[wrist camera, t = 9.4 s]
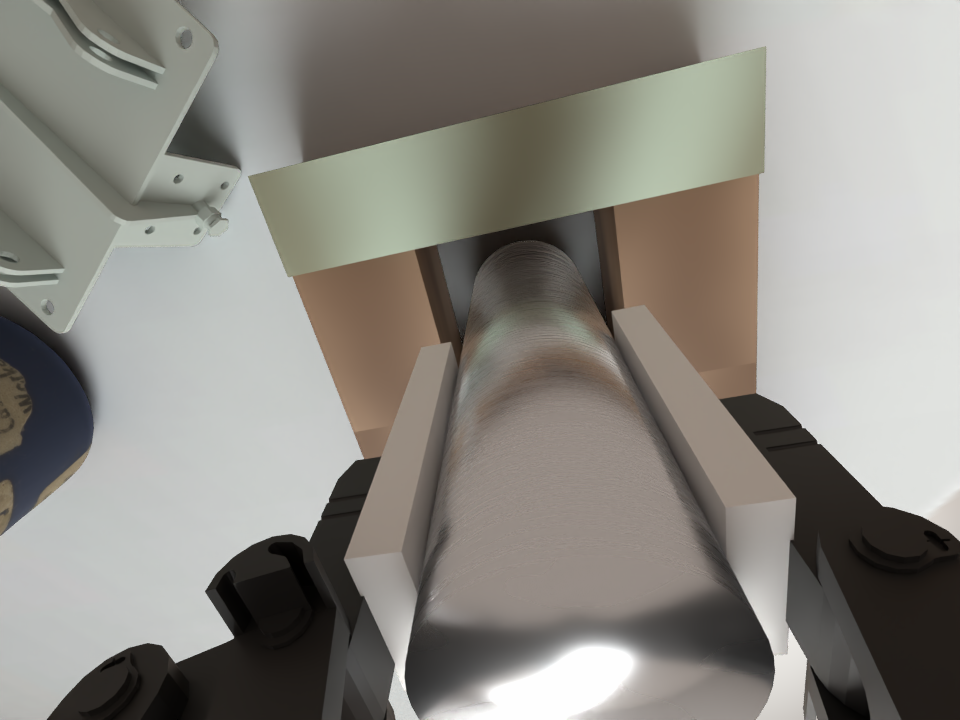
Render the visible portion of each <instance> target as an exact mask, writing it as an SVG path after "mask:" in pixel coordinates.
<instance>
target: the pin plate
mask: <svg viewBox="0 0 960 720" xmlns="http://www.w3.org/2000/svg"><path fill="white" fill-rule="evenodd" d="M765 86H766V46H765V47H761V48H757V49H753V50H749V51H745V52H741V53H737V54H733V55H729V56H725V57H721V58H717V59H713V60H709V61H705V62H702V63H698V64H694V65H690V66H686V67H682V68H678V69H674V70H670V71H666V72H662V73H658V74H654V75H650V76H646V77H642V78H638V79H634V80H630V81H626V82H622V83H618V84H614V85H610V86H606V87H602V88H598V89H594V90H590V91H586V92H582V93H578V94H574V95H570V96H566V97H562V98H558V99H554V100H550V101H546V102H542V103H538V104H534V105H530V106H526V107H522V108H518V109H514V110H510V111H506V112H502V113H498V114H494V115H491V116H487V117H483V118H479V119H475V120H471V121H467V122H463V123H459V124H455V125H451V126H447V127H443V128H439V129H435V130H431V131H427V132H423V133H419V134H415V135H411V136H407V137H403V138H399V139H395V140H391V141H387V142H383V143H379V144H375V145H371V146H367V147H363V148H359V149H355V150H351V151H347V152H343V153H339V154H335V155H331V156H327V157H323V158H319V159H315V160H311V161H307V162H303V163H299V164H295V165H291V166H287V167H283V168H280V169H276V170H272V171H268V172H264V173H260V174H256V175H252V176H248V178H249V180H250V183H251V185H252V188H253V190H254V193H255V195H256V198H257V200H258V203H259V205H260V208H261V210H262V213H263V215H264V218H265V220H266V223H267V225H268V228H269V230H270V233H271V235H272V238H273V241H274V243H275V246H276V248H277V251H278V253H279V256H280V258H281V261H282V263H283V266H284V268H285V271H286V273H287V276H288V277H292V276H293V279H294V281H295V284H296V286H297V289H298V292H299V294H300V297H301V299H302V302H303V304H304V307H305V309H306V312H307V314H308V317H309V320H310V322H311V325H312V327H313V330H314V332H315V335H316V337H317V340H318V342H319V345H320V347H321V350H322V353H323V355H324V358H325V360H326V363H327V365H328V368H329V370H330V373H331V375H332V378H333V381H334V383H335V386H336V388H337V391H338V393H339V396H340V398H341V401H342V403H343V406H344V409H345V411H346V414H347V416H348V419H349V421H350V424H351V426H352V429H353V431H354V434H355V436H356V439H357V442H358V444H359V447H360V449H361V452H362V454H363V457H364V459H369V458H375V457H381V456H382V454H383V451H384V448H385V446H386V443H387V440H388V437H389V435H390V432H391V429H392V426H393V424H394V421H395V418H396V415H397V413H398V410H399V407H400V405H401V402H402V399H403V396H404V394H405V391H406V388H407V385H408V383H409V380H410V377H411V374H412V372H413V369H414V366H415V363H416V361H417V358H418V355H419V353H420V350H421V348H422V347H427V346H432V345H437V344H442V343H448V342H451V343H452V347H453V351H454V354H455V358H456V362H457V365H458V369H459V364H460V358H461V353H462V347H463V345H462V342H461V338H460V334H459V330H458V326H457V322H456V319H455V315H454V311H453V307H452V303H451V299H450V296H449V292H448V288H447V284H446V280H445V276H444V273H443V269H442V265H441V261H440V257H439V253H438V250H437V246H436V245H437V244H442V243H446V242H451V241H455V240H460V239H465V238H469V237H474V236H478V235H483V234H487V233H492V232H496V231H501V230H506V229H510V228H515V227H519V226H524V225H528V224H533V223H537V222H542V221H546V220H551V219H556V218H560V217H565V216H569V215H574V214H578V213H583V212H587V211H592V210H593V211H594V219H595V227H596V235H597V243H598V251H599V259H600V267H601V275H602V283H603V291H604V300H605V308H606V316H607V324H608V329H609V331H610V333H611V335H612V337H613V339H614V341H615V337H614V329H613V320H612V312H611V311H614V310H620V309H625V308H630V307H635V306H640V305H645V306H646V307H647V309H648V310H649V311H650V312H651V314H652V315H653V316H654V318H655V319H656V320H657V321H658V323H659V324H660V325H661V326H662V328H663V329H664V330H665V332H666V333H667V334H668V335H669V337H670V338H671V339H672V340H673V342H674V343H675V344H676V346H677V347H678V348H679V349H680V351H681V352H682V353H683V354H684V356H685V357H686V358H687V360H688V361H689V362H690V363H691V365H692V366H693V367H694V368H695V370H696V371H697V372H698V374H699V375H700V376H701V377H702V379H703V380H704V381H705V382H706V384H707V385H708V386H709V388H710V389H711V390H712V391H713V393H714V394H715V395H716V396H717V398H718V399H724V398H730V397H736V396H742V395H748V394H754V393H756V363H757V282H758V202H759V174H760V173H764V146H765Z"/></svg>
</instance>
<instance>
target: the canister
mask: <svg viewBox="0 0 960 720" xmlns="http://www.w3.org/2000/svg"><path fill="white" fill-rule="evenodd" d="M93 430H94V426H93V416H92V412H91V408H90V405H89V402H88V399H87V396H86V394H85V393H84V391H83V389H82V387H81V385H80V383H79V382H78V380H77V379H76V377H75V376H74V374H73V373H72V371H71V370H70V369H69V367H68V366H67V365H66V364H65V362H64V361H63V360H62V359H61V358H60V357H59V356H58V355H57V354H56V353H55V352H54V351H53V350H52V349H51V348H50V347H48V346H47V345H46V344H45V343H44V342H43V341H41V340H40V339H39V338H38V337H36V336H35V335H34V334H32V333H31V332H29V331H28V330H26V329H24V328H23V327H21V326H19V325H17V324H16V323H14V322H12V321H10V320H8V319H6V318H4V317H2V316H0V536H1V535H2V534H3V533H4V532H6V531H7V530H8V529H9V528H10V527H12V526H13V525H14V524H15V523H16V522H17V521H19V520H20V519H21V518H22V517H23V516H25V515H26V514H27V513H28V512H30V511H31V510H32V509H34V508H35V507H36V506H37V505H38V504H40V503H41V502H42V501H43V500H44V499H46V498H47V497H48V496H49V495H50V494H52V493H53V492H54V491H55V490H56V489H57V488H59V487H60V486H61V485H62V484H63V483H64V482H66V481H67V480H68V479H69V478H70V477H71V476H72V475H73V474H74V473H75V472H76V471H77V470H78V469H79V468H80V466H81V465H82V463H83V462H84V460H85V459H86V457H87V455H88V453H89V450H90V447H91V444H92V438H93Z"/></svg>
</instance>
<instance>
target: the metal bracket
mask: <svg viewBox="0 0 960 720" xmlns="http://www.w3.org/2000/svg"><path fill="white" fill-rule="evenodd" d="M188 29H189V30H190V32H191V33H192V39H193V40H192V44H191V46H190V47H189V48H187V49H184V48H183V46H182V45H181V35H182V33H183V32H184V31H185V30H188ZM218 51H219V46H218V41H217V39H216V38H215V36H214V35H213V34H212V33H211V32H210V31H209V30H208V29H207V28H206V27H205V26H203V25H202V24H201V23H200V22H199V21H198V20H197V19H196V18H195V17H194V16H193V15H192V14H191V13H190V12H188V11H187V10H186V9H185V8H184V7H183V6H182V5H181V4H180V3H179V2H178V1H177V0H0V286H5V287H6V288H7V289H8V290H9V291H11V292H12V293H13V294H14V295H15V296H16V297H17V298H18V299H19V300H20V301H21V302H22V303H23V304H25V305H26V306H27V307H28V308H29V309H30V310H31V311H32V312H33V313H34V314H35V315H36V316H37V317H39V318H40V319H41V320H42V321H43V322H44V323H45V324H46V325H47V326H48V327H49V328H50V329H51V330H53V331H54V332H56V333H66V332H68V331H69V330H70V329H71V327H72V325H73V323H74V322H75V320H76V318H77V316H78V314H79V312H80V310H81V309H82V307H83V305H84V303H85V301H86V299H87V297H88V296H89V294H90V292H91V290H92V288H93V286H94V284H95V283H96V281H97V279H98V277H99V275H100V273H101V271H102V269H103V268H104V266H105V264H106V262H107V260H108V258H109V256H110V255H111V253H112V251H113V249H114V248H129V247H185V246H196V245H197V244H199V243H200V242H201V241H202V239H203V237H204V236H205V234H206V232H207V231H208V234H209V235H210V236H220V235H221V234H222V233H224V232H225V231H226V230H227V229H228V223H229V220H227V219H226V218H222V217H221V213H220V212H219V211H220V209H221V208H222V206H223V204H224V203H225V201H226V199H227V198H228V196H229V195H230V193H231V191H232V190H233V188H234V186H235V185H236V183H237V181H238V180H239V178H240V176H241V171H240V170H239V169H238V168H237V167H236V166H232V165H227V164H222V163H218V162H213V161H208V160H203V159H198V158H193V157H188V156H184V155H179V154H174V153H169V152H166V150H167V148H168V147H169V145H170V143H171V141H172V139H173V137H174V135H175V134H176V132H177V130H178V128H179V126H180V124H181V122H182V121H183V119H184V117H185V115H186V113H187V111H188V109H189V108H190V106H191V104H192V102H193V100H194V98H195V96H196V94H197V93H198V91H199V89H200V87H201V85H202V83H203V81H204V80H205V78H206V76H207V74H208V72H209V70H210V68H211V67H212V65H213V63H214V61H215V59H216V57H217V55H218ZM179 174H180V175H179ZM177 175H179V177H178V178H177V179H175V180H173V179H174V178H175V177H176V176H177ZM224 182H225V183H224ZM223 183H224V184H223ZM222 184H223V185H222ZM221 185H222V186H221ZM149 226H151V227H150V228H149V229H148V230H146V228H148V227H149ZM196 228H198V229H197V230H195V229H196ZM194 230H195V231H194ZM48 300H49V301H50V302H51V303H52V304H53V307H54V312H53V314H52V313H50V312H49V311H48V309H47V306H46V304H47V301H48Z"/></svg>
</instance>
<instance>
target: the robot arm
mask: <svg viewBox="0 0 960 720" xmlns="http://www.w3.org/2000/svg"><path fill="white" fill-rule="evenodd" d="M611 312H612V320H613V329H614V337H615V343H616V345H617V347H618V349H619V351H620V353H621V355H622V357H623V359H624V360H625V362H626V364H627V366H628V368H629V370H630V372H631V374H632V376H633V378H634V380H635V382H636V384H637V386H638V388H639V390H640V391H641V393H642V395H643V397H644V399H645V401H646V403H647V405H648V407H649V409H650V411H651V413H652V415H653V417H654V419H655V421H656V422H657V424H658V426H659V428H660V430H661V432H662V434H663V436H664V438H665V440H666V442H667V444H668V446H669V448H670V450H671V452H672V453H673V455H674V457H675V459H676V461H677V463H678V465H679V467H680V469H681V471H682V473H683V475H684V477H685V479H686V481H687V483H688V484H689V486H690V488H691V490H692V492H693V494H694V496H695V498H696V500H697V502H698V504H699V506H700V508H701V510H702V512H703V514H704V515H705V517H706V519H707V521H708V523H709V525H710V527H711V529H712V531H713V533H714V535H715V537H716V539H717V541H718V543H719V545H720V547H721V548H722V550H723V552H724V554H725V556H726V558H727V560H728V562H729V564H730V566H731V568H732V570H733V572H734V573H735V575H736V577H737V579H738V581H739V583H740V585H741V587H742V589H743V591H744V593H745V595H746V597H747V599H748V601H749V603H750V604H751V606H752V608H753V610H754V612H755V614H756V616H757V618H758V620H759V622H760V624H761V626H762V628H763V630H764V632H765V634H766V635H767V637H768V639H769V642H770V645H771V649H772V652H773V655H784V654H787V650H788V633H789V628H790V630H791V631H792V633H793V635H794V636H795V638H796V640H797V642H798V643H799V645H800V647H801V649H802V650H803V652H804V654H805V655H806V658H807V670H806V682H805V694H804V706H803V710H804V720H816V715H817V718H818V720H960V541H959V540H957V539H956V538H955V537H954V536H953V535H952V534H951V533H950V532H949V531H947V530H945V529H943V528H941V527H939V526H938V525H936V524H934V523H932V522H930V521H929V520H927V519H925V518H923V517H921V516H918V515H914V514H911V513H908V512H905V511H902V510H898V509H895V508H891V507H883V506H882V505H881V504H880V503H879V502H878V501H877V500H876V499H875V498H874V497H873V496H872V495H871V494H870V493H869V492H868V491H867V490H866V489H865V488H864V487H863V486H862V485H861V484H860V483H859V482H858V481H857V480H856V479H855V478H854V477H853V476H852V475H851V474H850V473H849V472H848V471H847V470H846V469H845V468H844V467H843V466H842V465H841V464H840V463H839V462H838V461H837V460H836V459H835V458H834V457H833V456H832V455H831V454H830V453H829V452H828V451H827V450H826V449H825V448H824V447H823V446H822V445H821V444H817V440H816V439H815V438H814V437H813V436H812V435H811V434H810V433H809V432H808V431H807V430H806V429H805V428H803V429H802V426H801V424H800V423H799V422H798V421H797V420H796V419H795V418H794V417H793V416H792V415H791V414H790V413H789V412H788V411H787V410H786V409H785V408H784V407H783V406H781V405H779V404H777V403H775V402H773V401H771V400H769V399H767V398H765V397H763V396H760V395H758V394H756V393H754V394H748V395H742V396H736V397H730V398H724V399H718V398H717V396H716V395H715V394H714V393H713V391H712V390H711V389H710V388H709V386H708V385H707V384H706V382H705V381H704V380H703V379H702V377H701V376H700V375H699V374H698V372H697V371H696V370H695V368H694V367H693V366H692V365H691V363H690V362H689V361H688V360H687V358H686V357H685V356H684V354H683V353H682V352H681V351H680V349H679V348H678V347H677V346H676V344H675V343H674V342H673V340H672V339H671V338H670V337H669V335H668V334H667V333H666V332H665V330H664V329H663V328H662V326H661V325H660V324H659V323H658V321H657V320H656V319H655V318H654V316H653V315H652V314H651V312H650V311H649V310H648V309H647V307H646V306H645V305H640V306H635V307H630V308H625V309H620V310H614V311H611ZM457 375H458V365H457V362H456V358H455V354H454V351H453V347H452V343H451V342H448V343H442V344H437V345H432V346H427V347H422V348H421V350H420V353H419V355H418V358H417V361H416V363H415V366H414V369H413V372H412V374H411V377H410V380H409V383H408V385H407V388H406V391H405V394H404V396H403V399H402V402H401V405H400V407H399V410H398V413H397V415H396V418H395V421H394V424H393V426H392V429H391V432H390V435H389V437H388V440H387V443H386V446H385V448H384V451H383V454H382V456H381V457H375V458H369V459H363V460H357V461H355V462H354V463H353V464H352V465H351V466H350V467H349V469H348V470H347V471H346V472H345V473H344V474H343V475H342V476H341V477H340V478H339V479H338V481H337V483H336V485H335V487H334V490H333V492H332V494H331V496H330V498H329V503H327V505H326V507H325V509H324V511H323V513H322V515H321V520H320V521H319V522H318V524H317V526H316V528H315V530H314V533H313V535H312V537H311V539H310V541H309V542H308V540H307V539H306V538H305V537H301V536H297V535H292V534H288V535H281V536H274V537H271V538H268V539H266V540H263V541H261V542H258V543H256V544H253V545H252V546H250V547H249V548H247V549H246V550H244V551H242V552H241V553H239V554H238V555H236V556H235V557H233V558H232V559H231V560H230V561H229V562H228V563H227V564H226V565H225V566H224V567H223V568H222V569H221V570H220V571H219V572H218V573H217V574H216V575H215V577H214V578H213V580H212V582H211V583H210V585H209V586H208V588H207V589H206V591H205V592H206V594H207V595H208V597H209V598H210V600H211V601H212V603H213V605H214V606H215V608H216V609H217V611H218V612H219V614H220V615H221V617H222V618H223V620H224V622H225V623H226V625H227V626H228V628H229V629H230V631H231V632H232V634H233V635H234V639H232V640H230V641H228V642H226V643H224V644H222V645H219V646H217V647H214V648H212V649H209V650H207V651H205V652H202V653H200V654H197V655H195V656H192V657H190V658H188V659H185V660H183V661H180V662H178V663H176V664H175V662H174V661H173V660H172V658H171V657H170V656H169V654H168V653H167V652H166V650H165V649H164V648H163V646H161V645H155V644H150V643H147V644H143V645H139V646H135V647H131V648H128V649H126V650H124V651H122V652H120V653H118V654H116V655H115V656H113V657H111V658H109V659H107V660H106V661H104V662H103V663H102V664H100V665H99V666H98V667H96V668H95V669H94V670H93V671H91V672H90V673H89V674H87V675H86V676H85V677H84V678H83V679H82V680H81V681H80V682H79V683H78V684H77V685H76V686H75V687H74V688H73V689H72V690H71V691H70V692H69V693H68V694H67V695H66V697H65V698H64V699H63V700H62V701H61V702H60V704H59V705H58V706H57V707H56V709H55V710H54V711H53V712H52V714H51V715H50V716H49V717H48V719H47V720H395V715H394V710H393V708H392V706H391V704H390V702H389V700H388V698H389V693H390V688H391V683H392V678H393V673H394V669H395V671H396V673H397V675H398V678H399V680H400V682H401V684H402V686H403V688H404V691H406V685H405V678H404V675H405V661H406V656H407V650H408V645H409V639H410V634H411V628H412V623H413V617H414V612H415V606H416V601H417V595H418V590H419V584H420V579H421V573H422V568H423V562H424V557H425V551H426V546H427V540H428V535H429V529H430V524H431V518H432V513H433V507H434V502H435V496H436V491H437V485H438V480H439V474H440V469H441V463H442V458H443V452H444V447H445V441H446V436H447V430H448V425H449V419H450V414H451V408H452V403H453V397H454V392H455V386H456V380H457Z"/></svg>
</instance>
